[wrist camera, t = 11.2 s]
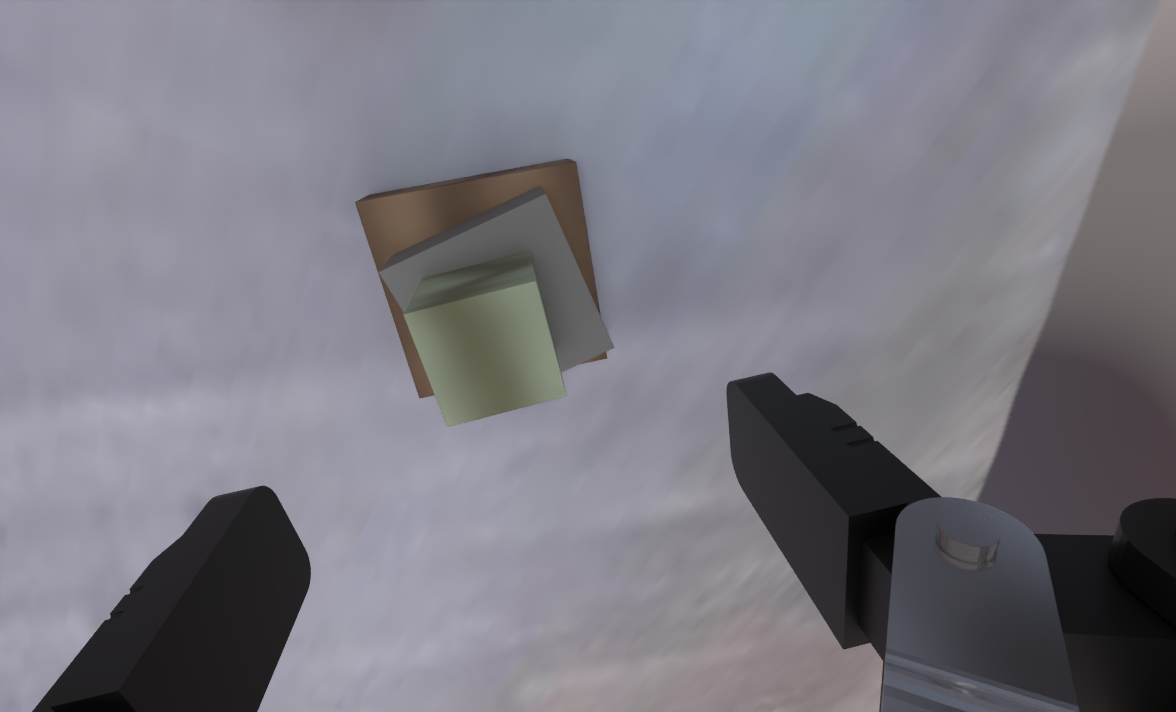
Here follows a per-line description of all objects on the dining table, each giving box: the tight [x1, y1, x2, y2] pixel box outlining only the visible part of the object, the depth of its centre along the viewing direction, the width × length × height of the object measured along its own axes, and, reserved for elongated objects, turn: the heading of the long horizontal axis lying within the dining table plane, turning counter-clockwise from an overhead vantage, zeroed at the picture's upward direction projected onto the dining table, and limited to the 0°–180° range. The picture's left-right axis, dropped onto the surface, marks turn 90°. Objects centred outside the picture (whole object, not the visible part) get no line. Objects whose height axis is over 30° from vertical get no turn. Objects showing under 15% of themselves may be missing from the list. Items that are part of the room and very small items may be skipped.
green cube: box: [403, 251, 567, 427], centre depth 25 cm, size 6×6×6 cm
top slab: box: [379, 186, 614, 372], centre depth 30 cm, size 9×9×4 cm
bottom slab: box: [355, 159, 607, 398], centre depth 33 cm, size 12×12×4 cm
